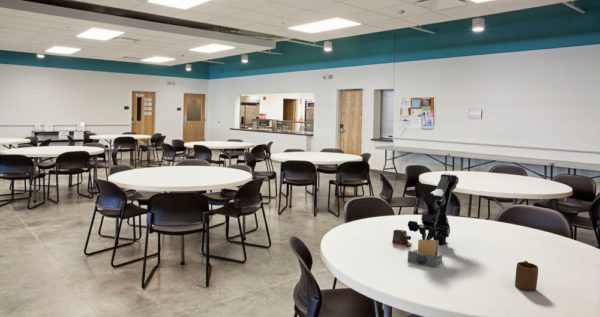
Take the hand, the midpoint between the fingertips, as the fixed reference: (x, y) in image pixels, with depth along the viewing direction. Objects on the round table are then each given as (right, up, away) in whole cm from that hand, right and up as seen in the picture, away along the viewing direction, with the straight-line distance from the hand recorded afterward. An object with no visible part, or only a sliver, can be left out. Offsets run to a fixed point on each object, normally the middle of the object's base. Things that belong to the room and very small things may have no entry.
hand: (424, 244), depth 191 cm
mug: (+32, -11, -27) cm, 44 cm away
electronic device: (-5, -5, +21) cm, 23 cm away
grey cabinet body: (-1, -8, -3) cm, 8 cm away
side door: (+1, -7, 0) cm, 7 cm away
